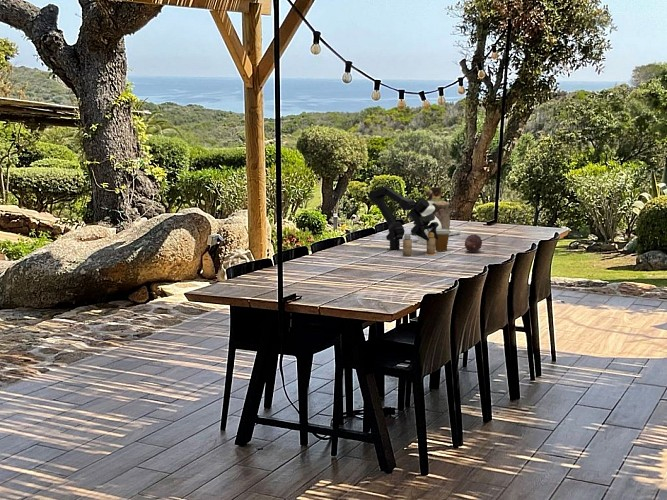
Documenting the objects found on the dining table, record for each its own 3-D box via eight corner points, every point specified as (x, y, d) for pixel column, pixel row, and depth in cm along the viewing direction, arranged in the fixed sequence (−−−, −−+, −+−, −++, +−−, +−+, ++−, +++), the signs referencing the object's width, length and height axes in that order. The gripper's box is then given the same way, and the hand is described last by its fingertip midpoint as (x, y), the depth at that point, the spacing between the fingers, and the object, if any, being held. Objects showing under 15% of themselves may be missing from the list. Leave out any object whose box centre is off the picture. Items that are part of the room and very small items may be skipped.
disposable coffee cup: (448, 251, 493) (449, 231, 491) (432, 251, 494) (432, 230, 493) (450, 249, 502) (450, 228, 500) (433, 248, 504) (433, 228, 502)
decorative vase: (441, 240, 536) (441, 200, 532) (441, 244, 519) (442, 203, 515) (412, 240, 538) (412, 200, 534) (412, 244, 521) (412, 203, 517)
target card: (396, 256, 478) (396, 254, 478) (431, 253, 487) (431, 252, 487) (406, 259, 468) (406, 257, 468) (441, 256, 477) (441, 254, 477)
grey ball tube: (401, 255, 476) (401, 233, 474) (408, 254, 477) (409, 232, 476) (405, 256, 471) (405, 234, 469) (413, 256, 473) (413, 234, 471)
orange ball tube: (425, 253, 482) (425, 231, 480) (433, 252, 483) (433, 231, 481) (428, 254, 478) (428, 232, 476) (436, 254, 479) (436, 232, 477)
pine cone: (466, 249, 503) (466, 232, 501) (483, 249, 500) (484, 232, 499) (462, 253, 486) (462, 236, 484) (480, 254, 483) (480, 236, 482)
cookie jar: (432, 231, 581) (432, 183, 576) (462, 234, 564) (463, 185, 559) (408, 234, 563) (409, 185, 558) (439, 238, 546) (439, 187, 541)
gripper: (415, 210, 473) (430, 232, 467) (436, 207, 486) (451, 228, 480) (404, 223, 479) (419, 245, 474) (425, 220, 493) (440, 241, 487)
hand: (433, 239), depth 478 cm, fingers open, 8 cm apart
